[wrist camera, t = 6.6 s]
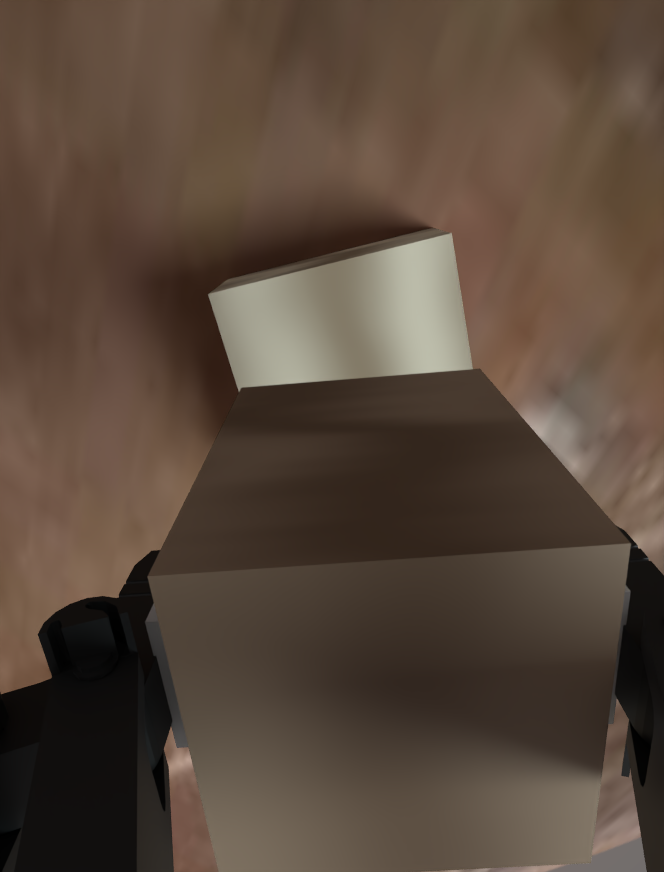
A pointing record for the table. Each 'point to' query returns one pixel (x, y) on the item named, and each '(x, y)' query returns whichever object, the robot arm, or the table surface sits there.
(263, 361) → the pale square block
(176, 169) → the table surface
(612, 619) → the walnut block
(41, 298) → the table surface
